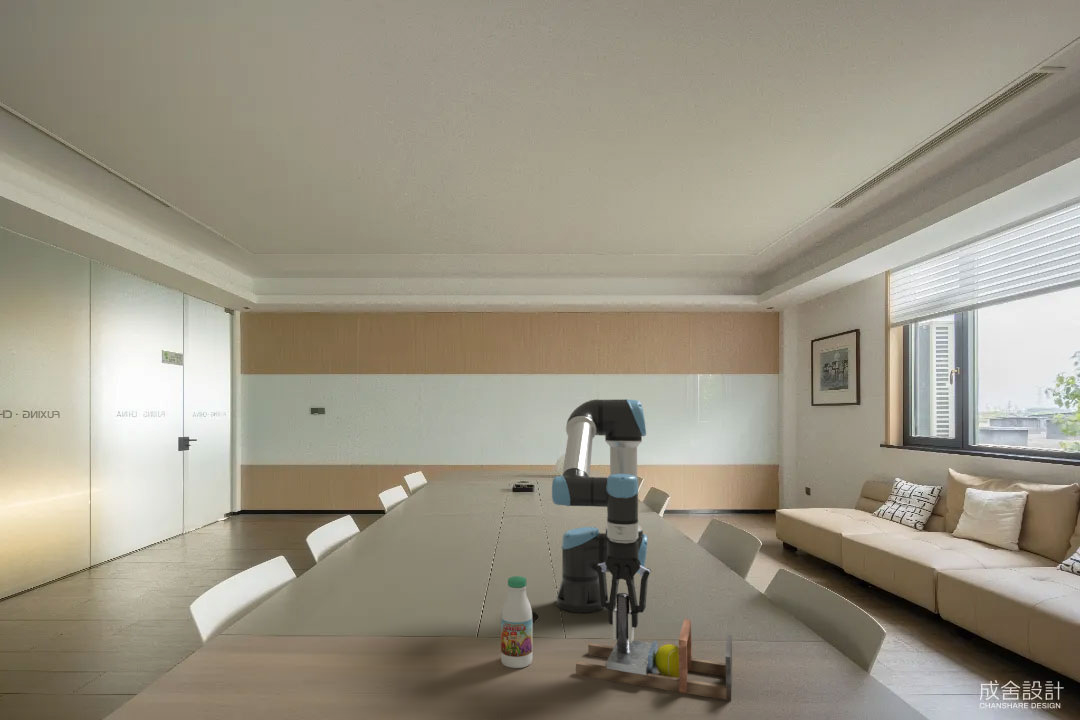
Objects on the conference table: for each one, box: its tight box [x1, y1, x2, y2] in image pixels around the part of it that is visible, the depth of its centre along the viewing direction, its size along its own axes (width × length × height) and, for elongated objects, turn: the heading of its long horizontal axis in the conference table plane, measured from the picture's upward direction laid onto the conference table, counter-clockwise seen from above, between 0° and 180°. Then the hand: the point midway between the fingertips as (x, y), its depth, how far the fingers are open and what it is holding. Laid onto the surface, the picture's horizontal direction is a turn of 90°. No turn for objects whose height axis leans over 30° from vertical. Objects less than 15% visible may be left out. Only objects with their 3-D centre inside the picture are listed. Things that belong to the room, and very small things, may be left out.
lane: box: [575, 619, 733, 701], centre depth 133 cm, size 34×13×11 cm, turn 70°
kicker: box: [606, 592, 659, 675], centre depth 135 cm, size 10×14×17 cm
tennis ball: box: [655, 643, 679, 678], centre depth 132 cm, size 7×7×7 cm
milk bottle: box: [500, 575, 533, 669], centre depth 140 cm, size 8×8×20 cm
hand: (623, 639), depth 136 cm, fingers closed on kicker, 3 cm apart
